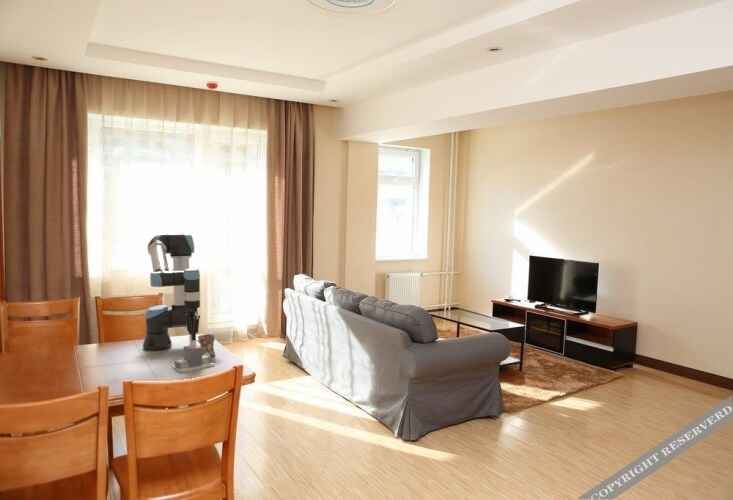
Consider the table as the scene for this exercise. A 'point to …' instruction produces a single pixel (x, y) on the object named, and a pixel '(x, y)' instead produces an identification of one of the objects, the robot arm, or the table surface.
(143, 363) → the table surface
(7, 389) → the table surface
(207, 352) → the mug
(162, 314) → the robot arm
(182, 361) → the butter dish
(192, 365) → the module
